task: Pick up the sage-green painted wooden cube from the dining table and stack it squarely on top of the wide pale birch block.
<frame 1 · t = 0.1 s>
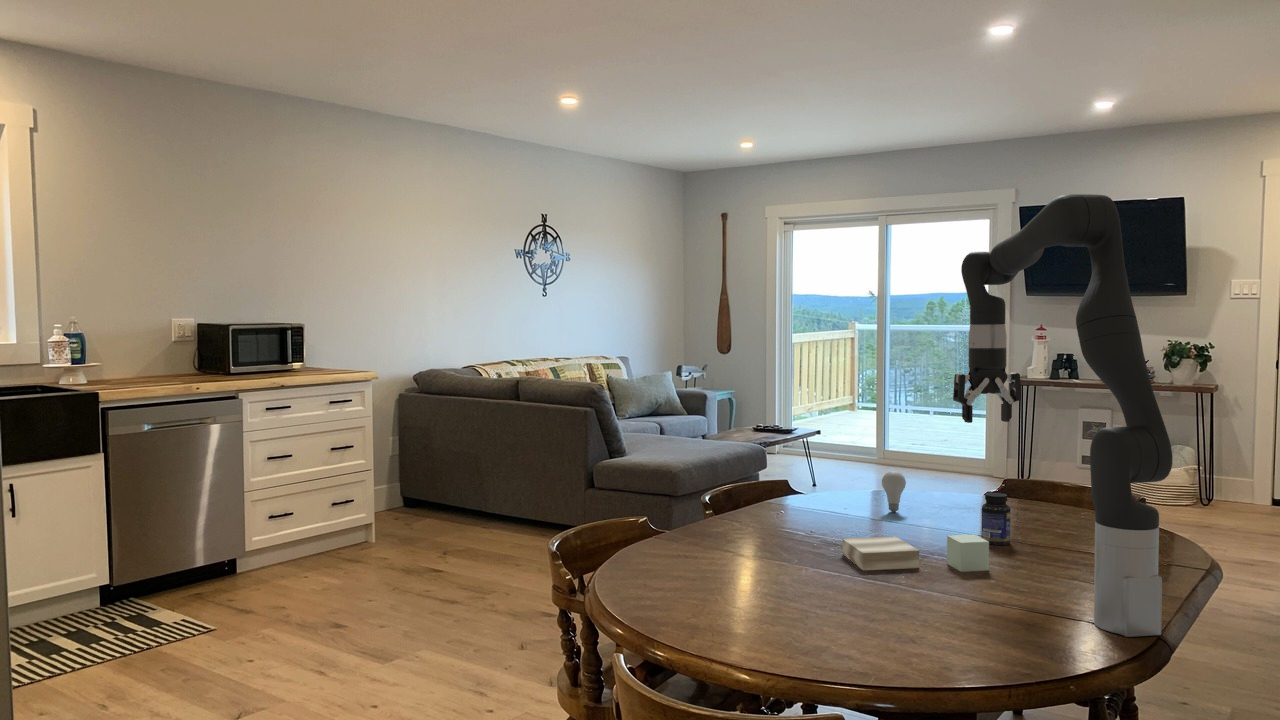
hand: (986, 421, 191), 29 cm above the table, fingers open, 8 cm apart
sage block: (967, 567, 185), on the table
pill bottle: (995, 543, 204), on the table
lightbulb: (893, 513, 237), on the table
birch block: (879, 563, 190), on the table
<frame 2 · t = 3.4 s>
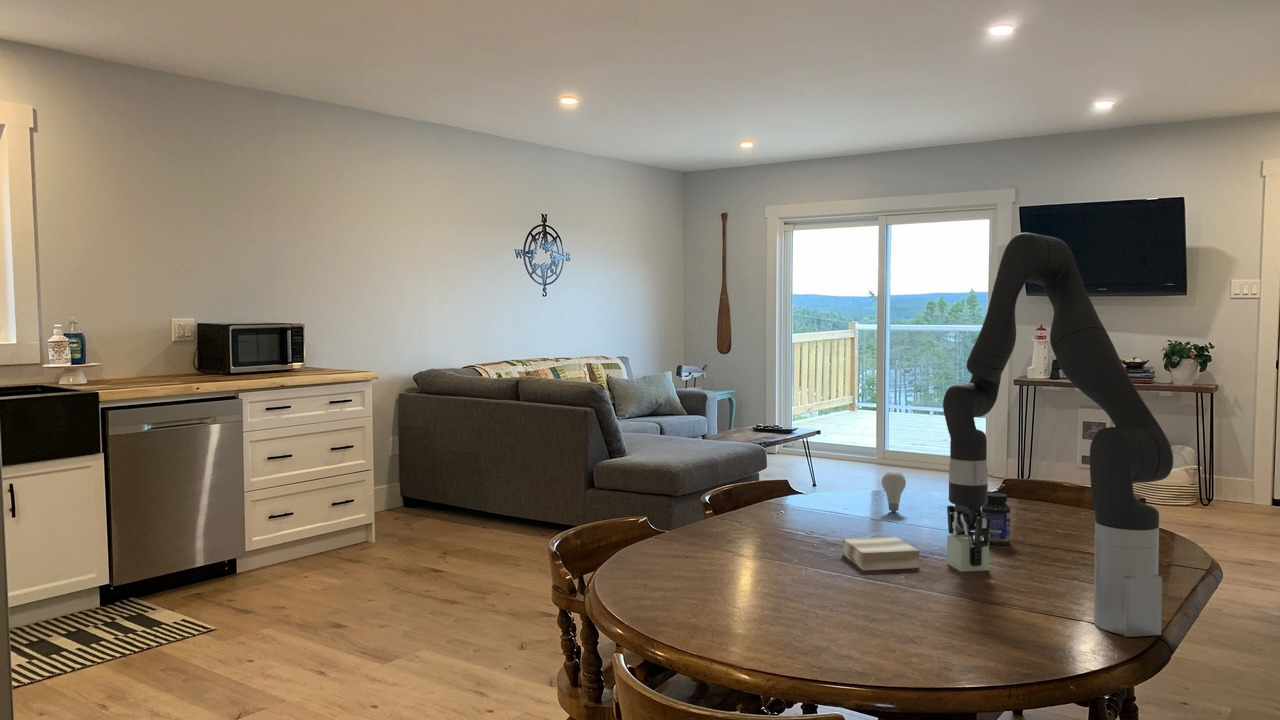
hand: (967, 560, 185), 1 cm above the table, fingers closed on sage block, 6 cm apart
sage block: (967, 566, 185), on the table, touching gripper
everything else where it was.
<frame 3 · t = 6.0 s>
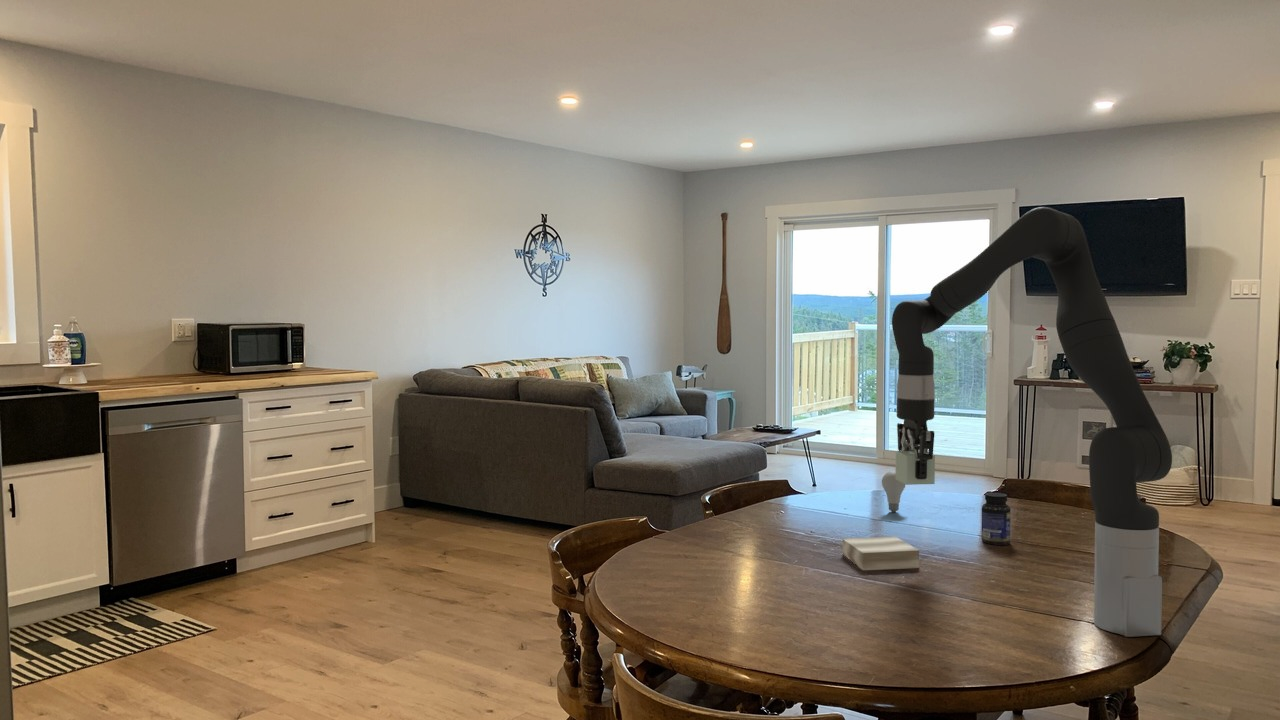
hand: (914, 475, 188), 18 cm above the table, fingers closed on sage block, 6 cm apart
sage block: (914, 481, 188), point 17 cm above the table, touching gripper
everything else where it was.
when the fingers open (6 cm above the table, at t = 8.7 s): sage block drops 2 cm, point 3 cm above the table.
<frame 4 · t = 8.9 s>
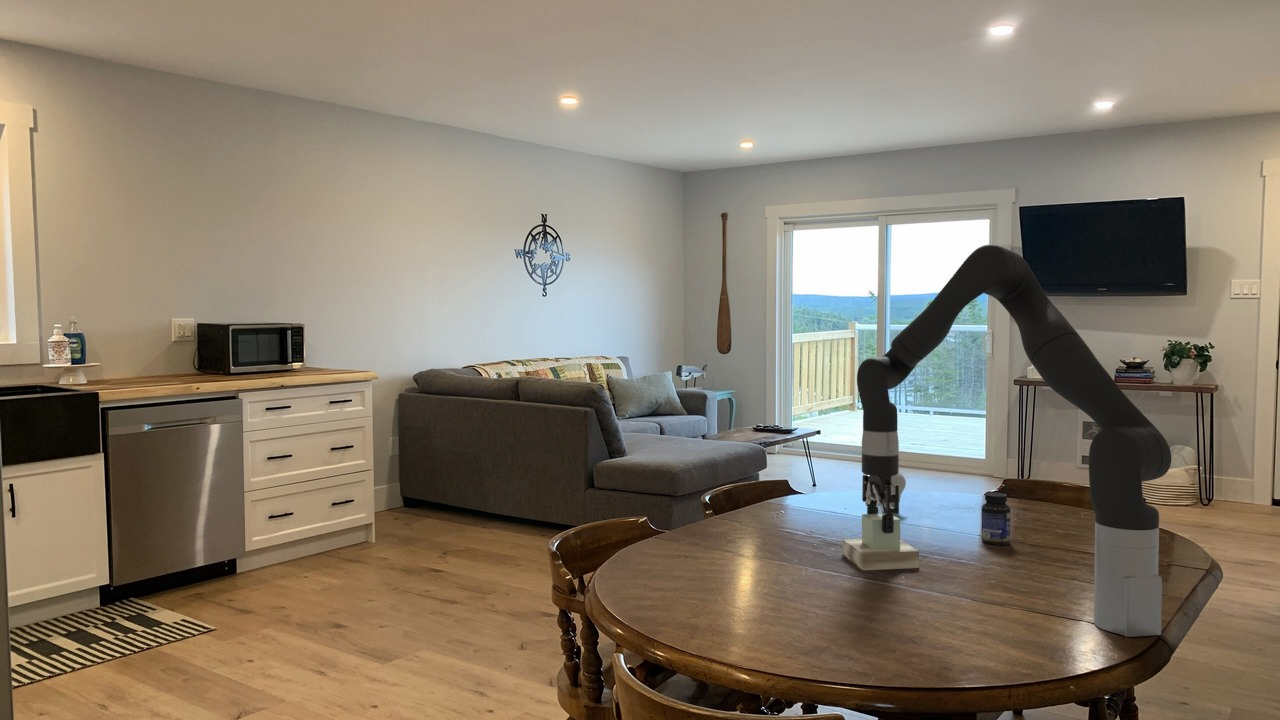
hand: (879, 528, 189), 7 cm above the table, fingers open, 8 cm apart
sage block: (880, 545, 189), point 3 cm above the table
everything else where it was.
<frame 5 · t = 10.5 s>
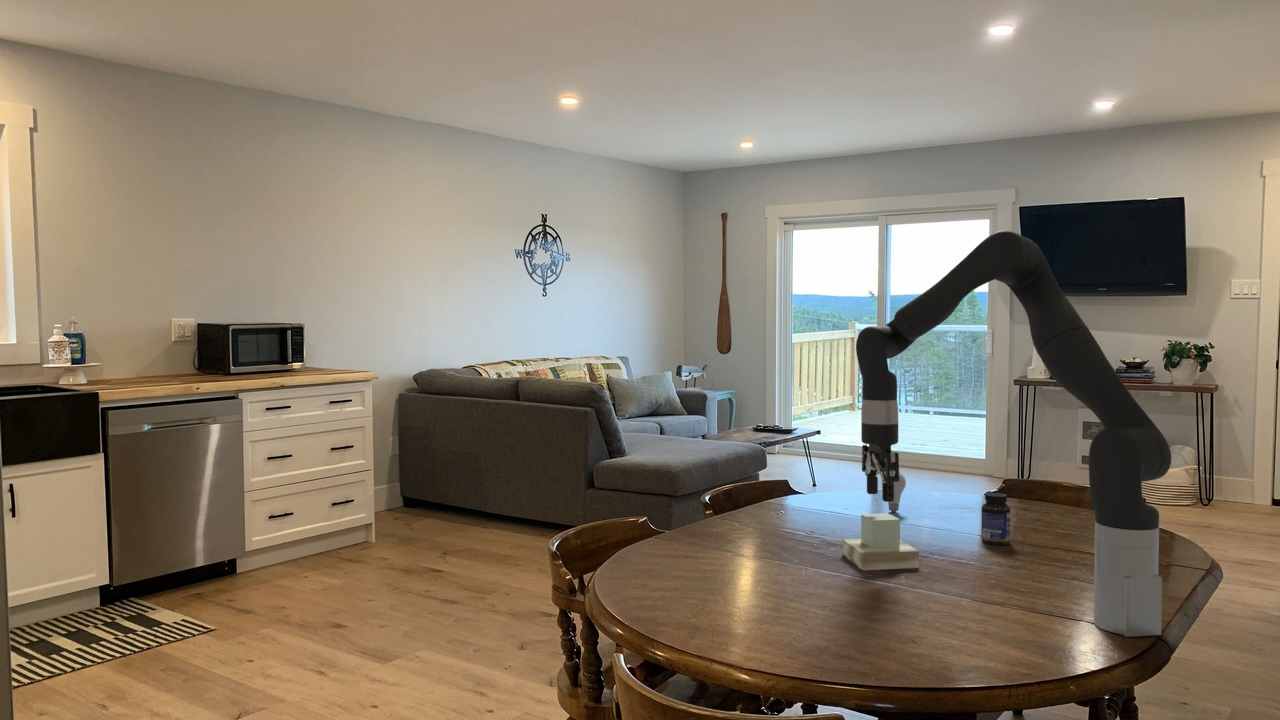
hand: (879, 497, 189), 14 cm above the table, fingers open, 8 cm apart
sage block: (880, 544, 189), point 3 cm above the table, touching birch block
birch block: (879, 563, 190), on the table, touching sage block
everything else where it was.
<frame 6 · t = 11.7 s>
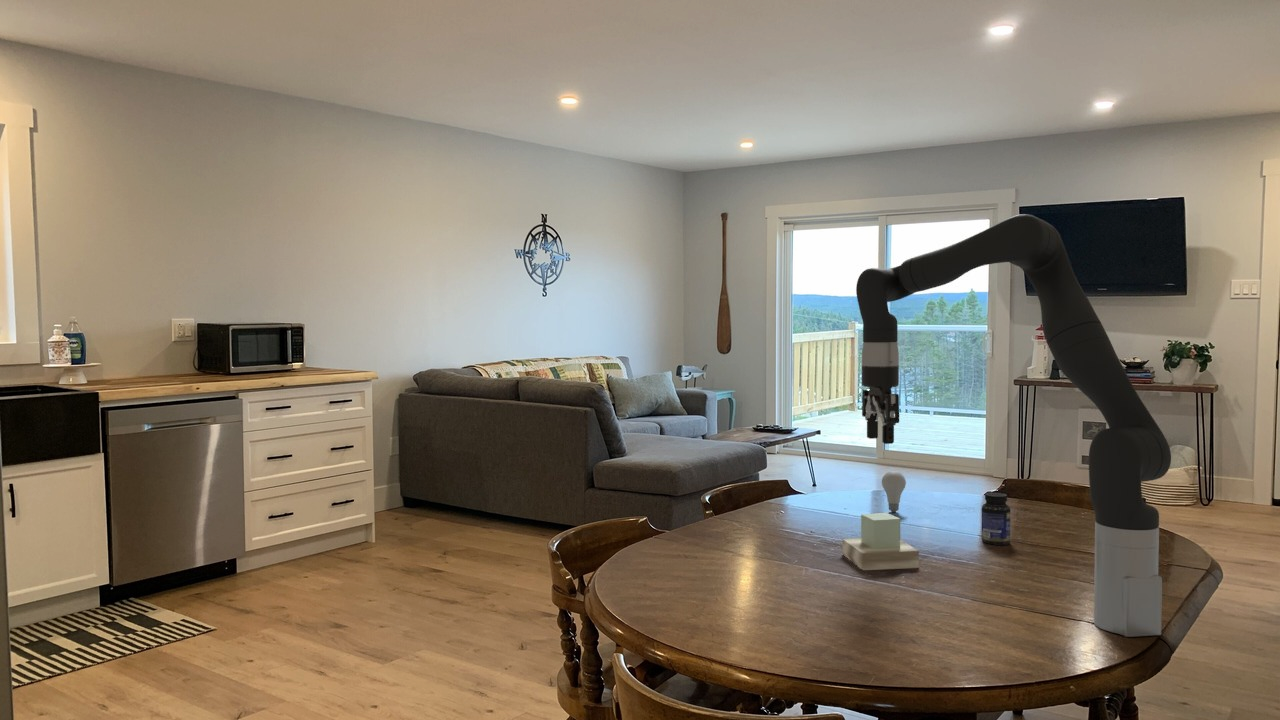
hand: (880, 440, 188), 26 cm above the table, fingers open, 8 cm apart
nothing on the table moved.
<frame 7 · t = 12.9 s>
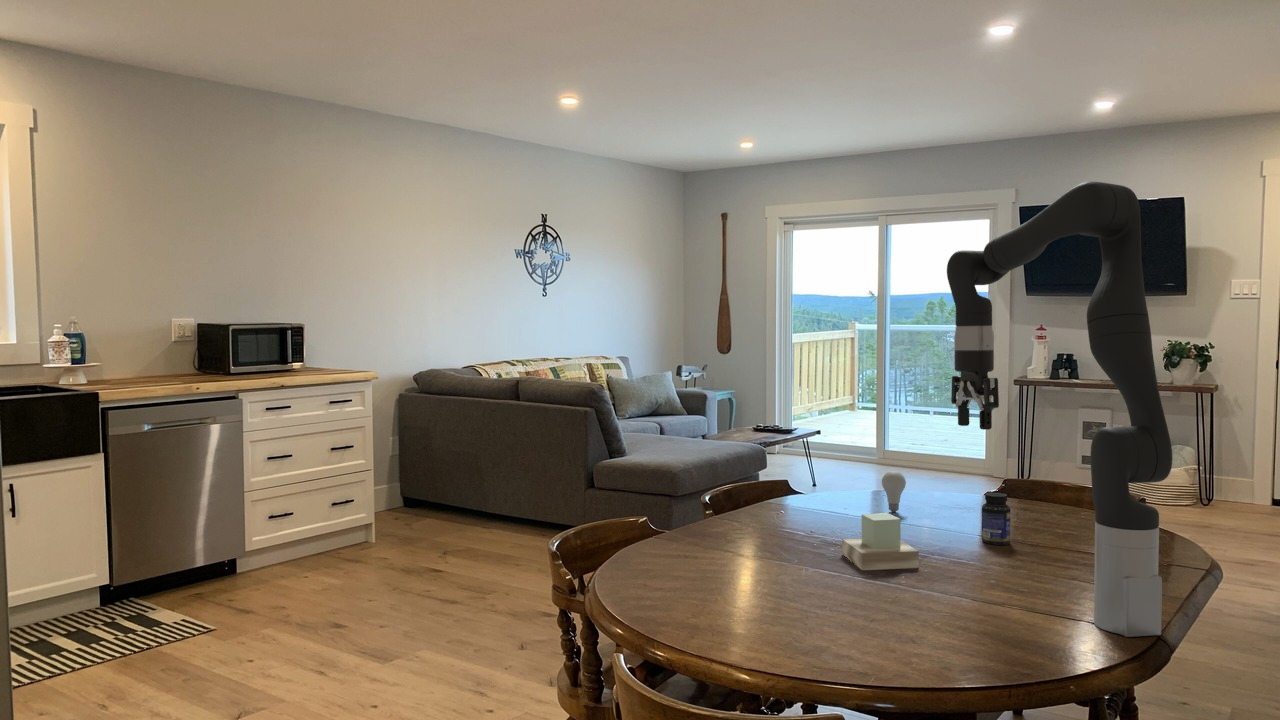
hand: (974, 427, 184), 29 cm above the table, fingers open, 8 cm apart
nothing on the table moved.
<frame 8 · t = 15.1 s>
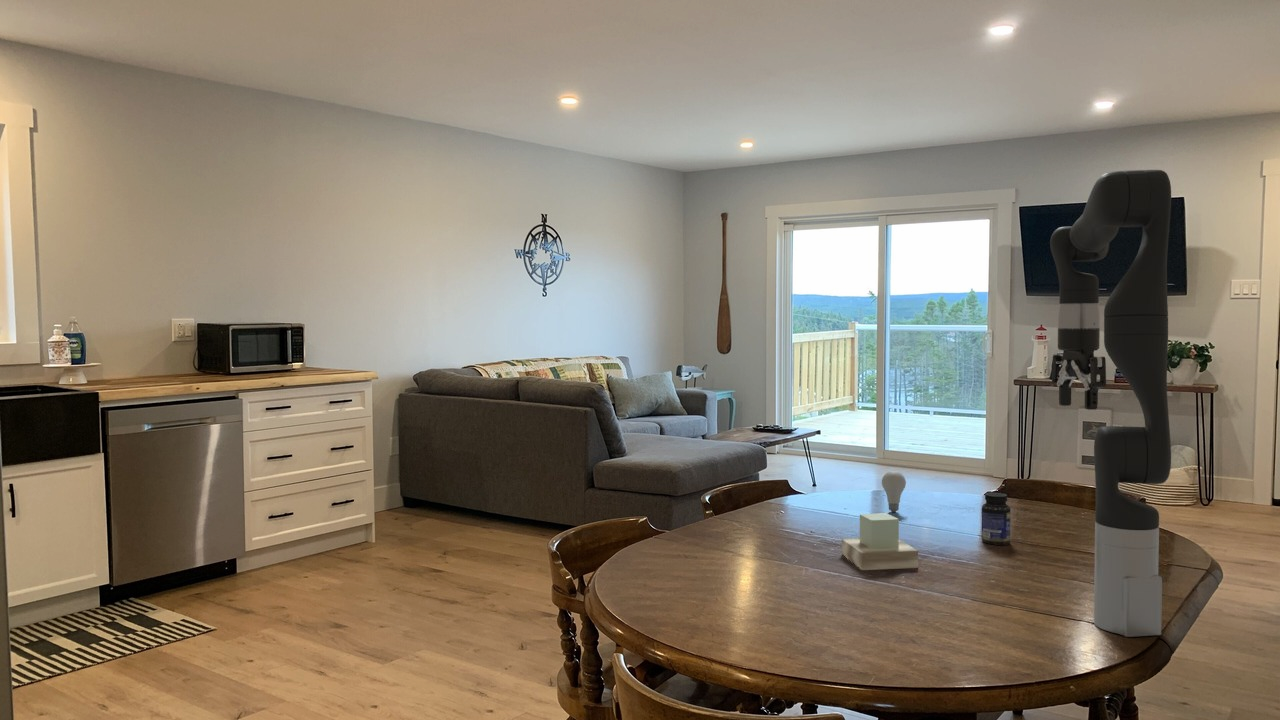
hand: (1077, 407, 180), 33 cm above the table, fingers open, 8 cm apart
sage block: (878, 544, 189), point 3 cm above the table
birch block: (878, 563, 190), on the table
everything else where it was.
at the end: sage block 0.2 cm off-centre on the birch block, point 4.1 cm above the birch block's base; sage block tilted 1°; the gripper is holding nothing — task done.
